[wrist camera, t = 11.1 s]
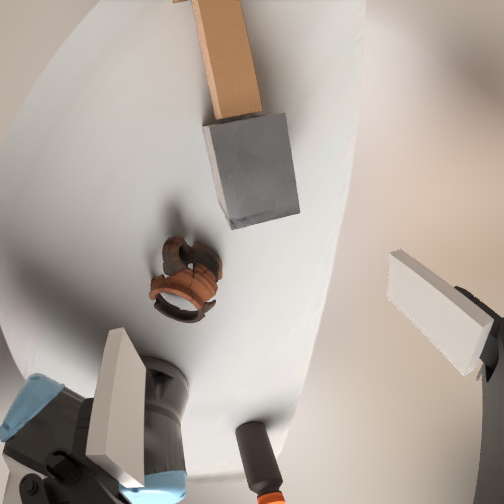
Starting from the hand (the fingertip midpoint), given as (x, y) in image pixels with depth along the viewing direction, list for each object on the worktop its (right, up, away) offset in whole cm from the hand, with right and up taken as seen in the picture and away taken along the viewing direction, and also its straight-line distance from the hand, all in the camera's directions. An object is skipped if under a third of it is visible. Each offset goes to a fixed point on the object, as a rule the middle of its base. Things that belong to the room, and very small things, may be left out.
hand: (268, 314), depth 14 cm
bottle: (-1, -36, +46) cm, 59 cm away
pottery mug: (-10, +1, +27) cm, 29 cm away
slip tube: (-5, +27, +14) cm, 31 cm away
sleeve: (-2, +14, +23) cm, 27 cm away
